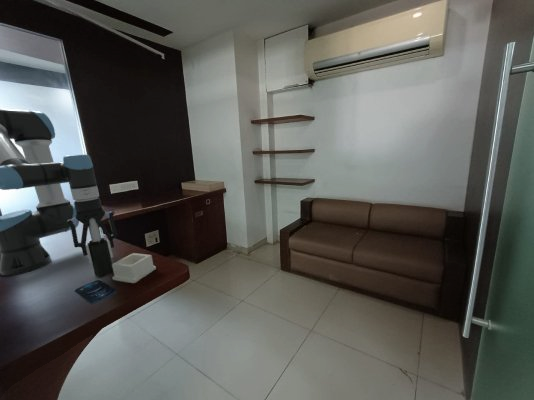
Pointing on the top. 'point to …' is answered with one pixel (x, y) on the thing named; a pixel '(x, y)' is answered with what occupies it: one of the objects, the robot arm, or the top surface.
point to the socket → (133, 268)
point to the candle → (99, 251)
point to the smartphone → (95, 291)
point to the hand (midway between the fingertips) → (101, 259)
